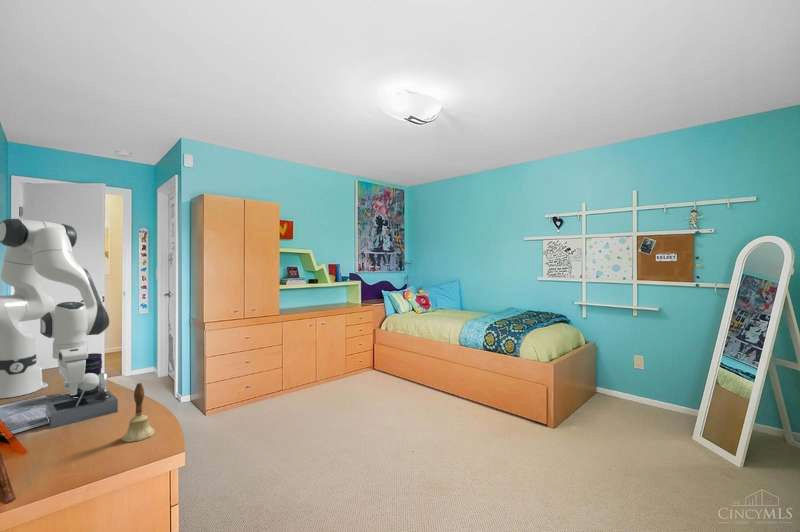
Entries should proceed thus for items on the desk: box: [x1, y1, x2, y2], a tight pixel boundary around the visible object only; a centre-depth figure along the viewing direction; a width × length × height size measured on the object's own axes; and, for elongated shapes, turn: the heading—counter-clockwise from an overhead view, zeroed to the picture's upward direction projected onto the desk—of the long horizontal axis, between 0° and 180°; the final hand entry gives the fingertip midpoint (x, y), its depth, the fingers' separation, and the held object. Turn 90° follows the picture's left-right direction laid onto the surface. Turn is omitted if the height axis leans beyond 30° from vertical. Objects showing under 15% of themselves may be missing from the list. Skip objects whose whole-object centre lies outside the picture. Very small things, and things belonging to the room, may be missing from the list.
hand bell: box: [121, 382, 156, 443], centre depth 112 cm, size 8×8×16 cm
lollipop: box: [75, 373, 100, 407], centre depth 125 cm, size 6×6×15 cm
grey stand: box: [45, 372, 119, 429], centre depth 126 cm, size 17×12×13 cm
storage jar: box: [68, 352, 103, 398], centre depth 145 cm, size 10×10×15 cm
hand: (70, 391), depth 124 cm, fingers open, 8 cm apart
